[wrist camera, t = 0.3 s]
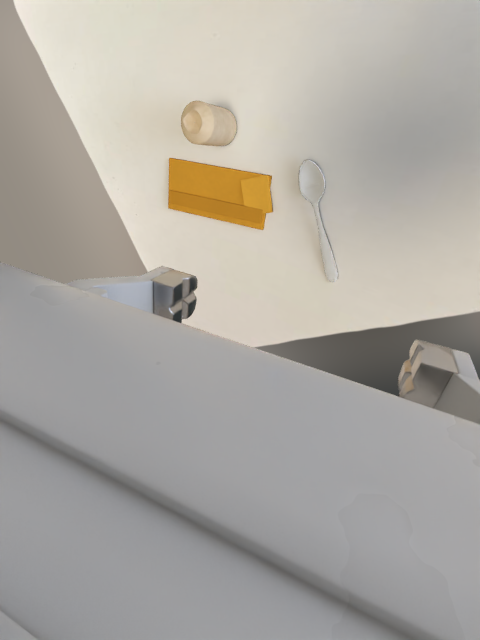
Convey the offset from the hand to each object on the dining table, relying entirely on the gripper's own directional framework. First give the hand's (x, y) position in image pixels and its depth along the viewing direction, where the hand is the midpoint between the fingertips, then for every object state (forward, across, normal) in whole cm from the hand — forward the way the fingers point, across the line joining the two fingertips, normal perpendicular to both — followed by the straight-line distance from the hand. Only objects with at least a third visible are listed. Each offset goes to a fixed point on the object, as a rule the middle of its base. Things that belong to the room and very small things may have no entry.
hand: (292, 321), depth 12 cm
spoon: (+47, +6, +6) cm, 48 cm away
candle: (+47, +26, -6) cm, 54 cm away
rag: (+47, +26, +4) cm, 54 cm away
